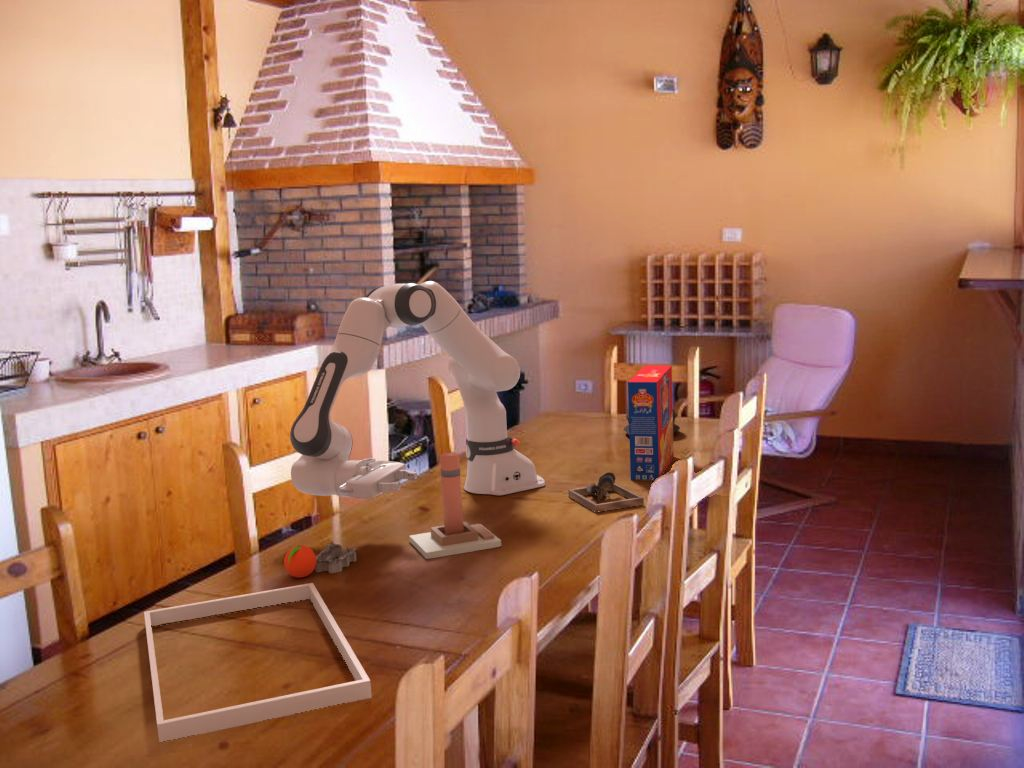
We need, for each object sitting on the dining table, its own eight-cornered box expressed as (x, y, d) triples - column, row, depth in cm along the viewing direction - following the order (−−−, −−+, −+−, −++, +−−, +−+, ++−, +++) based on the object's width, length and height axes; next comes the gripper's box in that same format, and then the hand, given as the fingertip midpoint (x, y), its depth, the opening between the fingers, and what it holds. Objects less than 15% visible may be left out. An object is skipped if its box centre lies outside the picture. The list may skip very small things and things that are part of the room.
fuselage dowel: (460, 533, 250) (455, 451, 247) (466, 538, 246) (461, 455, 242) (442, 536, 248) (437, 453, 245) (448, 542, 244) (443, 458, 241)
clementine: (304, 585, 225) (301, 553, 224) (276, 582, 227) (273, 551, 226) (323, 572, 232) (321, 541, 231) (296, 570, 235) (293, 539, 234)
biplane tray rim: (313, 596, 218) (312, 582, 218) (371, 697, 172) (370, 680, 172) (145, 626, 207) (143, 611, 206) (159, 743, 161) (157, 724, 160)
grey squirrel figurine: (619, 498, 274) (622, 483, 282) (603, 477, 273) (606, 463, 281) (596, 512, 277) (599, 497, 285) (579, 492, 275) (583, 477, 284)
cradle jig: (481, 530, 257) (480, 516, 256) (501, 546, 244) (500, 531, 243) (409, 541, 251) (408, 527, 250) (426, 559, 238) (425, 544, 237)
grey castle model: (333, 557, 243) (332, 540, 243) (362, 559, 240) (360, 542, 240) (307, 572, 234) (306, 554, 233) (337, 575, 231) (335, 557, 230)
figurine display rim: (614, 489, 286) (614, 482, 286) (643, 505, 271) (643, 497, 271) (568, 497, 282) (568, 489, 281) (595, 513, 266) (595, 505, 266)
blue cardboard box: (659, 481, 293) (656, 382, 288) (630, 480, 295) (627, 382, 291) (673, 456, 319) (671, 365, 315) (647, 456, 322) (644, 365, 317)
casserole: (631, 425, 366) (630, 401, 364) (685, 426, 360) (684, 402, 359) (616, 442, 342) (615, 416, 341) (674, 443, 337) (673, 417, 335)
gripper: (333, 477, 243) (387, 479, 238) (372, 456, 262) (424, 458, 257) (335, 503, 244) (389, 506, 239) (374, 480, 263) (425, 483, 258)
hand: (407, 481), depth 248 cm, fingers open, 8 cm apart
